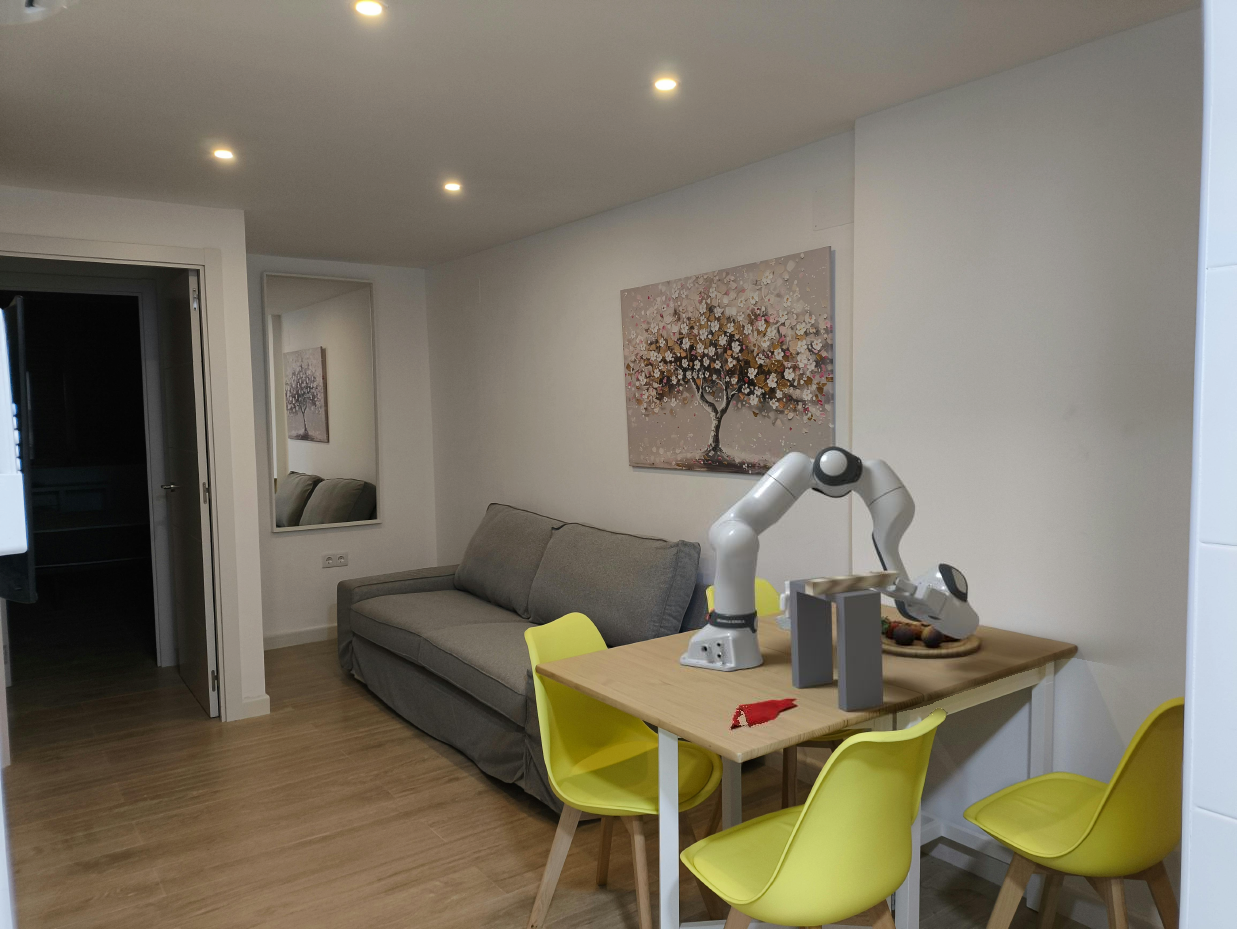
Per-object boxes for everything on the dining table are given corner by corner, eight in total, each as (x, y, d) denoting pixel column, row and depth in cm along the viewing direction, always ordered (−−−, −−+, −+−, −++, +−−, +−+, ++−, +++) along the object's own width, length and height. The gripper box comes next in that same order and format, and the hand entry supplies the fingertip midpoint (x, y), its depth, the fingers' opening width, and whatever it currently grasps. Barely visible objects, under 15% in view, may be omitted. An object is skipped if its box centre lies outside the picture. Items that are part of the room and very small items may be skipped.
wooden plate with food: (961, 630, 260) (960, 603, 260) (997, 660, 229) (996, 629, 228) (853, 632, 264) (853, 605, 263) (874, 661, 232) (873, 631, 231)
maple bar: (813, 595, 193) (812, 582, 193) (805, 593, 196) (805, 580, 195) (899, 584, 201) (899, 572, 201) (891, 582, 204) (891, 570, 204)
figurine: (772, 629, 268) (771, 582, 268) (789, 624, 275) (788, 577, 274) (792, 633, 263) (791, 584, 262) (809, 627, 270) (808, 580, 269)
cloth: (780, 696, 206) (780, 686, 206) (824, 710, 195) (824, 700, 195) (697, 720, 192) (696, 710, 192) (738, 737, 180) (738, 727, 180)
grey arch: (846, 711, 192) (843, 596, 190) (792, 685, 212) (789, 581, 211) (883, 705, 195) (880, 592, 194) (826, 679, 216) (823, 577, 214)
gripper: (900, 582, 216) (860, 559, 212) (959, 596, 197) (917, 571, 193) (890, 605, 215) (849, 582, 211) (948, 621, 196) (906, 597, 192)
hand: (882, 577), depth 201 cm, fingers open, 8 cm apart
